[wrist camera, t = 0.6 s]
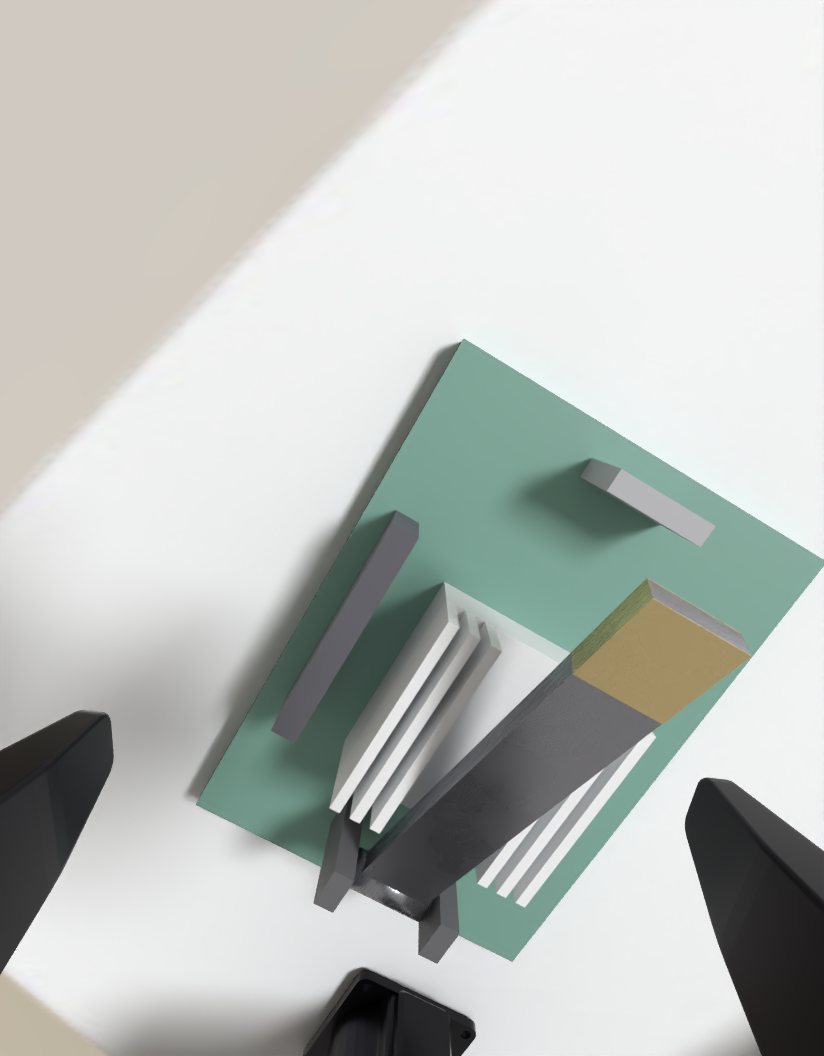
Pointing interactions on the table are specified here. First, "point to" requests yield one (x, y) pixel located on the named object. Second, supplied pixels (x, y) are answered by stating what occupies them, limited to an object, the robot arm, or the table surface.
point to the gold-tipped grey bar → (553, 743)
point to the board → (486, 639)
